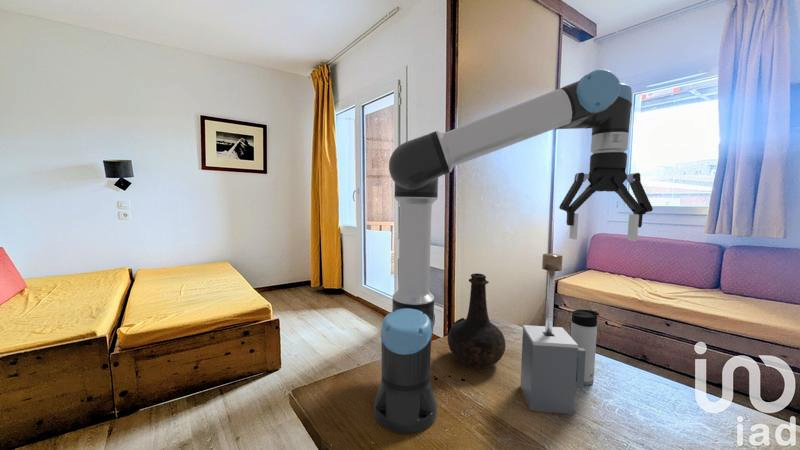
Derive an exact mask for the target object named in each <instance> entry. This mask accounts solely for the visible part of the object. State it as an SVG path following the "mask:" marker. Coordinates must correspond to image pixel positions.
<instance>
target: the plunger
mask: <svg viewBox="0 0 800 450" xmlns="http://www.w3.org/2000/svg"><path fill="white" fill-rule="evenodd" d="M541 262H542V263H541V269H542V270H545V271H547V289H546V309H545V325H544V326H545V336H552V327H554V326H553V323H554V307H555V306H554V304H555V302H554V301H555V284H556V272H561V271H563V255H562V254H559V253H558V254H557V253H543V254H542V261H541Z"/></svg>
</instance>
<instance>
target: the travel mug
mask: <svg viewBox="0 0 800 450" xmlns="http://www.w3.org/2000/svg"><path fill="white" fill-rule="evenodd" d="M598 317H600V313H599V312H598V311H596V310H589V309H575V310H573V311H572V312H571V320H570V321H571V322H570V336H571V338H572V339H573V340H574V341H575V342H576V343H577V344H578V348H584V350H585V351H586V355H585V371H584V386H590V385H593V384H594V380H595V379H594V378H595V362H596V347H597V336H598V335H597V333H598V332H597V331H598V330H597V329H598Z"/></svg>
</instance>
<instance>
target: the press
mask: <svg viewBox="0 0 800 450" xmlns="http://www.w3.org/2000/svg"><path fill="white" fill-rule="evenodd" d="M545 326H546V325H542V326H541V325H531V324H530V325H529V324H528V325H527V324H526V325H525V324H524V325H522V341H521V343H522V344H521V345H522V346H521V364H520V366H521V367H520V388H521V392H522V393H523V395H524V398H525V401H526V404H527V406H528V409H529V410H530V411H535V412H536V411H537V412H546V413H556V414H558V413H559V414H567V415H574V414H575V400H576V389H577V390H584V388H585V387H584V386H585V385H584V371H585V355H586V351H585V350H584V348H578V344H577V343H576V342H575V341H574V340H573V339H572V338H571V334H569V333H568V332H567V330H565V328H564V327H562V326H561V327H559V326H553V327H552V336H545Z"/></svg>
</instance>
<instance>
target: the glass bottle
mask: <svg viewBox="0 0 800 450" xmlns="http://www.w3.org/2000/svg"><path fill="white" fill-rule="evenodd" d="M470 276H471V277H470V278H468V282H469V283H471V284H470V296H469V297H470V298H469V306H468V312H467V315H466V318H465V317H461V318H459V319H457V320H456V321H454V322H453V323H452V326H451V327H450V329H449V331H448V334H447V345H448V347H449V350H450V351H451V354H452V355H453V356H454V358H455V359H456V360H457V361H458V362H460V363H461V364H462V365H464V366H466V367H470V368H473V369H487V368H490V367H492V366H494V365H496V364H497V363H498V362H499V361H500V360H501V359H502V358H503V356H504V354H505V351H506V346H507V345H506V339H505V336H504V334H503V332H502V331H501V329H500V328H499V327H498V326H496V325H495V324H494V323H492V322H491V321H490V319H489V313H488V307H487V306H488V304H487V294H486V293H487V290H486V287H487V286H486V285H487V284H489V281H488V280H487V276H486V275H485V274H483V273H479V272H478V273H475V272H474V273H471V274H470Z"/></svg>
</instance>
